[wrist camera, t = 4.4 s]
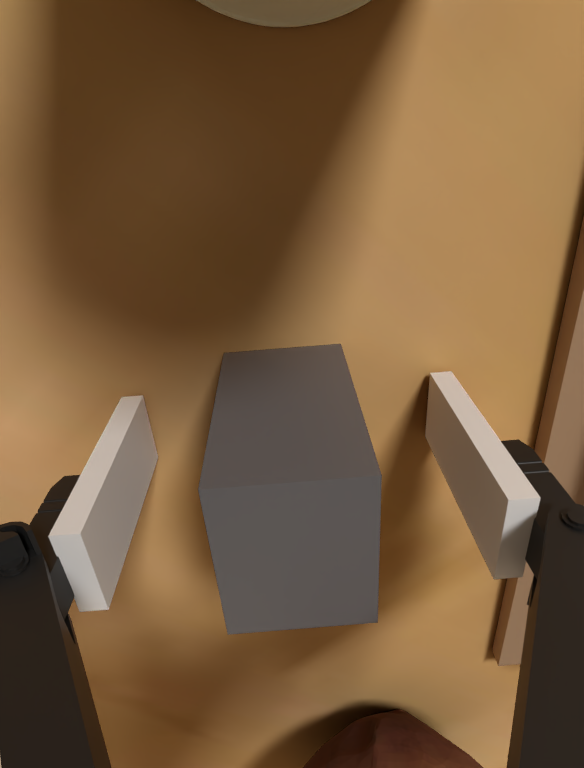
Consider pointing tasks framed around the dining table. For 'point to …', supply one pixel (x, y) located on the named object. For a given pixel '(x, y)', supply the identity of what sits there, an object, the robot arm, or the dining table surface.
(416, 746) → the butternut squash
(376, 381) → the dining table surface
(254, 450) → the plug
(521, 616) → the socket board
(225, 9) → the can
